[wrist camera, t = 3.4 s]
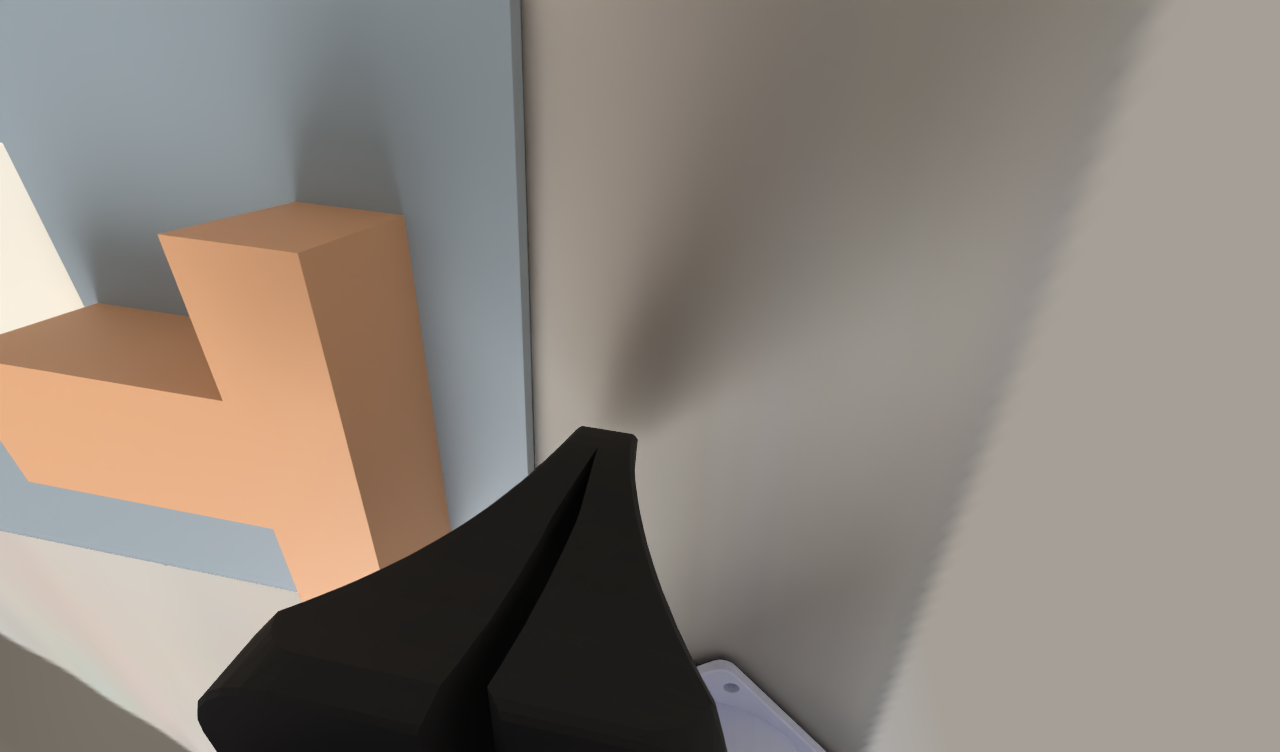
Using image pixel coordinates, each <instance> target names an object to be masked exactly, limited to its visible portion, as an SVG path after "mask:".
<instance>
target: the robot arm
mask: <svg viewBox="0 0 1280 752" xmlns="http://www.w3.org/2000/svg"><path fill="white" fill-rule="evenodd" d="M637 441H638V439H637V438H636V437H635V436H634V435H633V434H628V433H622V432H616V431H610V430H603V429H597V428H591V427H585V426H581V427H580V428H578V429H577V430H576V431H575V432H574V433H573V434H572V435H571V436H570V437H569V438H568V439H567V440H566V441H565V442H564V443H563V444H562V445H561V446H560V447H559V448H558V449H557V450H556V451H555V452H554V453H552V454H551V455H550V456H549V457H548V458H547V459H546V460H545V461H544V462H543V463H542V464H540V465H539V466H538V467H537V468H536V469H535V470H534V471H532V472H531V473H530V474H529V475H528V476H527V477H526V478H524V479H523V480H522V481H521V482H520V483H518V484H517V485H516V486H515V487H513V488H512V489H511V490H509V491H508V492H507V493H506V494H504V495H503V496H502V497H501V498H499V499H498V500H497V501H495V502H494V503H493V504H491V505H490V506H489V507H487V508H486V509H484V510H483V511H482V512H480V513H479V514H477V515H476V516H474V517H473V518H471V519H470V520H468V521H467V522H465V523H464V524H462V525H461V526H459V527H458V528H456V529H454V530H453V531H451V532H449V533H448V534H446V535H444V536H443V537H441V538H439V539H438V540H436V541H434V542H432V543H430V544H429V545H427V546H425V547H423V548H421V549H420V550H418V551H416V552H414V553H413V554H411V555H409V556H407V557H405V558H403V559H401V560H399V561H397V562H395V563H393V564H391V565H389V566H387V567H385V568H382V569H380V570H378V571H376V572H374V573H372V574H369V575H367V576H365V577H363V578H361V579H359V580H356V581H354V582H352V583H349V584H347V585H345V586H342V587H340V588H337V589H335V590H332V591H330V592H327V593H325V594H322V595H320V596H317V597H315V598H312V599H309V600H307V601H304V602H302V603H299V604H297V605H294V606H292V607H289V608H286V609H283V610H281V611H278V612H277V613H276V614H275V615H274V616H273V617H272V618H271V619H270V620H269V621H268V622H267V623H266V624H265V625H264V626H263V628H262V629H261V630H260V631H259V632H258V633H257V634H256V635H255V636H254V637H253V638H252V639H251V640H250V642H249V643H248V644H247V645H246V646H245V647H244V648H243V650H242V651H241V652H240V653H239V654H238V655H237V657H236V658H235V659H234V660H233V661H232V662H231V664H230V665H229V666H228V667H227V668H226V669H225V670H224V672H223V673H222V674H221V675H220V676H219V677H218V679H217V680H216V681H215V682H214V683H213V684H212V685H211V687H210V688H209V689H208V690H207V691H206V692H205V693H204V695H203V696H202V697H201V698H200V699H199V700H198V711H197V714H198V721H199V723H200V726H201V728H202V730H203V732H204V733H205V735H206V736H207V738H208V739H209V741H210V742H211V744H212V745H213V747H214V748H215V750H216V751H217V752H826V751H825V750H824V749H823V748H822V747H821V746H820V745H819V744H818V743H817V742H815V741H814V740H813V739H812V738H811V737H810V736H809V735H808V734H807V733H806V732H805V731H804V730H803V729H802V728H801V727H800V726H799V725H798V724H796V723H795V722H794V721H793V720H792V719H791V718H790V717H789V716H788V715H787V714H786V713H785V712H784V711H783V710H782V709H781V708H780V707H779V706H777V705H776V704H775V703H774V702H773V701H772V700H771V699H770V698H769V697H768V696H767V695H766V694H765V693H764V692H763V691H762V690H761V689H760V688H758V687H757V686H756V685H755V684H754V683H753V682H752V681H751V680H750V679H749V678H748V677H747V676H746V675H745V674H744V673H743V672H742V671H741V670H739V669H738V668H737V667H736V666H735V665H734V664H733V663H731V662H729V661H726V660H714V661H711V662H708V663H705V664H702V665H699V666H696V665H695V663H694V661H693V659H692V657H691V655H690V653H689V651H688V649H687V647H686V645H685V643H684V641H683V638H682V636H681V634H680V632H679V630H678V628H677V625H676V623H675V620H674V618H673V615H672V613H671V611H670V608H669V606H668V603H667V601H666V598H665V596H664V593H663V591H662V588H661V586H660V583H659V580H658V577H657V574H656V571H655V568H654V565H653V562H652V558H651V555H650V552H649V548H648V545H647V541H646V537H645V533H644V529H643V524H642V520H641V515H640V510H639V504H638V498H637V490H636V483H635V460H636V450H637Z"/></svg>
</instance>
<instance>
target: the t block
mask: <svg viewBox="0 0 1280 752" xmlns="http://www.w3.org/2000/svg"><path fill="white" fill-rule="evenodd" d="M157 235H158V237H159V240H160V242H161V245H162V247H163V250H164V253H165V255H166V258H167V260H168V263H169V265H170V268H171V270H172V273H173V275H174V278H175V281H176V283H177V286H178V288H179V291H180V293H181V296H182V298H183V301H184V303H185V306H186V309H187V311H188V314H189V316H190V317H188V316H181V315H175V314H168V313H162V312H155V311H148V310H142V309H135V308H129V307H122V306H115V305H109V304H102V303H96V304H93V305H90V306H87V307H84V308H80V309H77V310H74V311H71V312H68V313H65V314H62V315H59V316H56V317H53V318H49V319H46V320H43V321H40V322H37V323H34V324H31V325H28V326H25V327H22V328H18V329H15V330H12V331H9V332H6V333H3V334H0V441H1V442H2V444H3V445H4V447H5V448H6V450H7V451H8V453H9V454H10V455H11V457H12V458H13V460H14V461H15V463H16V464H17V466H18V467H19V469H20V470H21V472H22V473H23V474H24V476H25V477H26V479H27V480H28V482H33V483H38V484H43V485H48V486H54V487H59V488H64V489H69V490H74V491H79V492H84V493H90V494H95V495H100V496H105V497H110V498H115V499H121V500H126V501H131V502H136V503H141V504H146V505H151V506H157V507H162V508H167V509H172V510H177V511H182V512H188V513H193V514H198V515H203V516H208V517H213V518H218V519H224V520H229V521H234V522H239V523H244V524H249V525H255V526H260V527H265V528H270V529H273V530H274V533H275V535H276V538H277V540H278V543H279V546H280V548H281V551H282V553H283V556H284V558H285V561H286V563H287V566H288V568H289V571H290V574H291V576H292V579H293V581H294V584H295V586H296V589H297V591H298V594H299V596H300V599H301V602H304V601H307V600H309V599H312V598H315V597H317V596H320V595H322V594H325V593H327V592H330V591H332V590H335V589H337V588H340V587H342V586H345V585H347V584H349V583H352V582H354V581H356V580H359V579H361V578H363V577H365V576H367V575H369V574H372V573H374V572H376V571H378V570H380V569H382V568H385V567H387V566H389V565H391V564H393V563H395V562H397V561H399V560H401V559H403V558H405V557H407V556H409V555H411V554H413V553H414V552H416V551H418V550H420V549H421V548H423V547H425V546H427V545H429V544H430V543H432V542H434V541H436V540H438V539H439V538H441V537H443V536H444V535H446V534H448V533H449V532H451V529H450V522H449V516H448V509H447V502H446V495H445V489H444V482H443V475H442V468H441V462H440V455H439V448H438V441H437V434H436V428H435V421H434V414H433V407H432V401H431V394H430V387H429V380H428V374H427V367H426V360H425V353H424V346H423V340H422V333H421V326H420V319H419V313H418V306H417V299H416V292H415V286H414V279H413V272H412V265H411V258H410V252H409V245H408V238H407V231H406V225H405V218H404V215H399V214H391V213H383V212H375V211H367V210H359V209H351V208H343V207H334V206H326V205H318V204H310V203H302V202H291V203H287V204H283V205H279V206H274V207H270V208H266V209H262V210H258V211H253V212H249V213H245V214H241V215H236V216H232V217H228V218H224V219H219V220H215V221H211V222H207V223H203V224H198V225H194V226H190V227H186V228H181V229H177V230H173V231H169V232H165V233H160V234H157Z"/></svg>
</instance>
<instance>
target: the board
mask: <svg viewBox="0 0 1280 752" xmlns="http://www.w3.org/2000/svg"><path fill="white" fill-rule="evenodd" d="M291 202H302V203H310V204H318V205H326V206H334V207H343V208H351V209H359V210H367V211H375V212H383V213H391V214H399V215H404V218H405V225H406V231H407V238H408V245H409V252H410V258H411V265H412V272H413V279H414V286H415V292H416V299H417V306H418V313H419V319H420V326H421V333H422V340H423V346H424V353H425V360H426V367H427V374H428V380H429V387H430V394H431V401H432V407H433V414H434V421H435V428H436V434H437V441H438V448H439V455H440V462H441V468H442V475H443V482H444V489H445V495H446V502H447V509H448V516H449V522H450V529H451V531H453V530H454V529H456V528H458V527H459V526H461V525H462V524H464V523H465V522H467V521H468V520H470V519H471V518H473V517H474V516H476V515H477V514H479V513H480V512H482V511H483V510H484V509H486V508H487V507H489V506H490V505H491V504H493V503H494V502H495V501H497V500H498V499H499V498H501V497H502V496H503V495H504V494H506V493H507V492H508V491H509V490H511V489H512V488H513V487H515V486H516V485H517V484H518V483H520V482H521V481H522V480H523V479H524V478H526V477H527V476H528V475H529V474H530V473H531V472H532V471H534V445H533V411H532V377H531V344H530V310H529V277H528V243H527V209H526V176H525V142H524V108H523V75H522V41H521V7H520V0H0V334H3V333H6V332H9V331H12V330H15V329H18V328H22V327H25V326H28V325H31V324H34V323H37V322H40V321H43V320H46V319H49V318H53V317H56V316H59V315H62V314H65V313H68V312H71V311H74V310H77V309H80V308H84V307H87V306H90V305H93V304H96V303H102V304H109V305H115V306H122V307H129V308H135V309H142V310H148V311H155V312H162V313H168V314H175V315H181V316H188V317H190V316H189V314H188V311H187V309H186V306H185V303H184V301H183V298H182V296H181V293H180V291H179V288H178V286H177V283H176V281H175V278H174V275H173V273H172V270H171V268H170V265H169V263H168V260H167V258H166V255H165V253H164V250H163V247H162V245H161V242H160V240H159V237H158V235H157V234H160V233H165V232H169V231H173V230H177V229H181V228H186V227H190V226H194V225H198V224H203V223H207V222H211V221H215V220H219V219H224V218H228V217H232V216H236V215H241V214H245V213H249V212H253V211H258V210H262V209H266V208H270V207H274V206H279V205H283V204H287V203H291ZM0 531H4V532H9V533H14V534H19V535H23V536H28V537H33V538H38V539H43V540H48V541H53V542H57V543H62V544H67V545H72V546H77V547H82V548H86V549H91V550H96V551H101V552H106V553H111V554H116V555H120V556H125V557H130V558H135V559H140V560H145V561H149V562H154V563H159V564H164V565H169V566H174V567H179V568H183V569H188V570H193V571H198V572H203V573H208V574H212V575H217V576H222V577H227V578H232V579H237V580H242V581H246V582H251V583H256V584H261V585H266V586H271V587H276V588H280V589H285V590H290V591H295V592H298V591H297V589H296V586H295V584H294V581H293V579H292V576H291V574H290V571H289V568H288V566H287V563H286V561H285V558H284V556H283V553H282V551H281V548H280V546H279V543H278V540H277V538H276V535H275V533H274V530H273V529H270V528H265V527H260V526H255V525H249V524H244V523H239V522H234V521H229V520H224V519H218V518H213V517H208V516H203V515H198V514H193V513H188V512H182V511H177V510H172V509H167V508H162V507H157V506H151V505H146V504H141V503H136V502H131V501H126V500H121V499H115V498H110V497H105V496H100V495H95V494H90V493H84V492H79V491H74V490H69V489H64V488H59V487H54V486H48V485H43V484H38V483H33V482H28V480H27V479H26V477H25V476H24V474H23V473H22V472H21V470H20V469H19V467H18V466H17V464H16V463H15V461H14V460H13V458H12V457H11V455H10V454H9V453H8V451H7V450H6V448H5V447H4V445H3V444H2V442H1V441H0Z"/></svg>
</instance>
